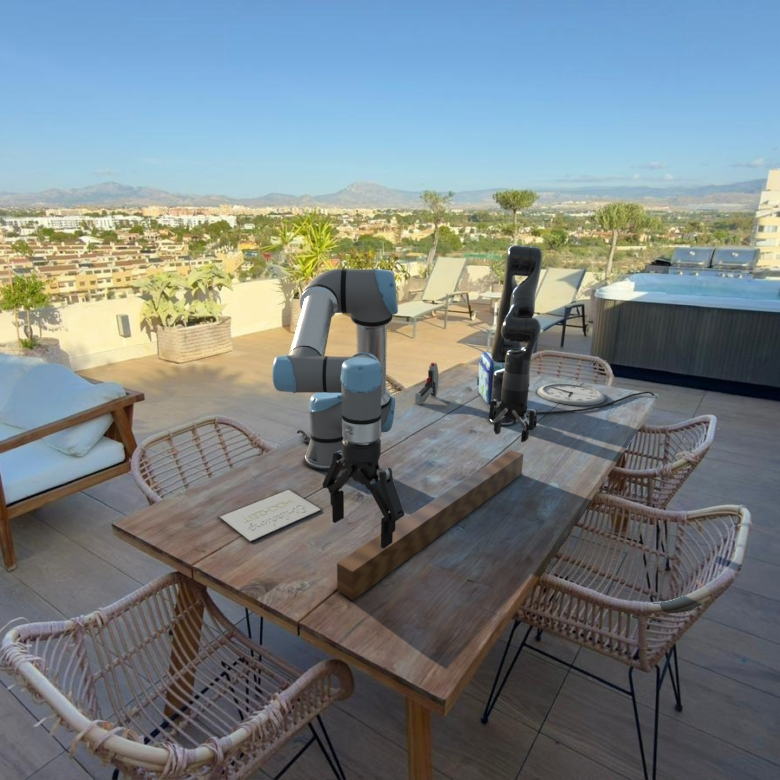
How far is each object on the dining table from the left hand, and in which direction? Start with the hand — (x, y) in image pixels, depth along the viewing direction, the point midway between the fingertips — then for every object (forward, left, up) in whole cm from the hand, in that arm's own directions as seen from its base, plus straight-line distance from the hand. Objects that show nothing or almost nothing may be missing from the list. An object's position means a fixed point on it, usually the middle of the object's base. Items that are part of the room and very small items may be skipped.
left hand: (361, 532), depth 108 cm
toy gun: (-120, +40, -13) cm, 127 cm away
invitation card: (-31, -21, -13) cm, 39 cm away
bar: (-22, +24, -13) cm, 35 cm away
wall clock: (-121, +108, -13) cm, 163 cm away
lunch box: (-118, +69, -13) cm, 138 cm away
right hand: (-44, +49, +1) cm, 66 cm away
